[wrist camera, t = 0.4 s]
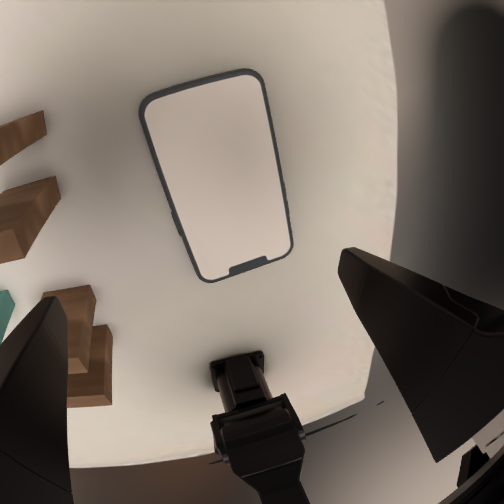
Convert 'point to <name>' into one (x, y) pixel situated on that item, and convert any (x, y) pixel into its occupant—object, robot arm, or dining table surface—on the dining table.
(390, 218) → the dining table surface
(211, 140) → the smartphone with white screen
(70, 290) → the domino
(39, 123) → the domino
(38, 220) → the domino
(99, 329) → the brown wooden block
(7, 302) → the domino
